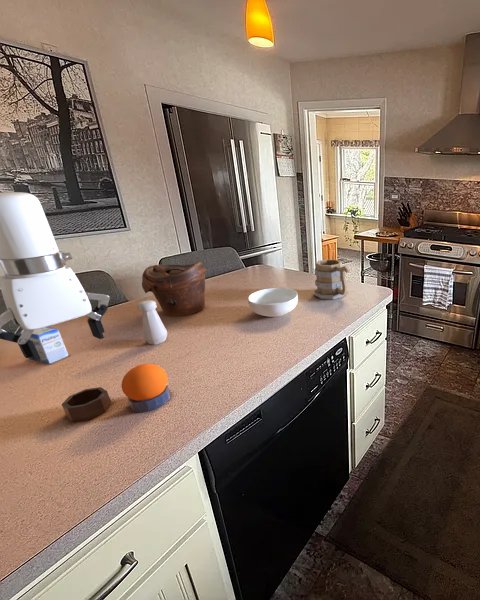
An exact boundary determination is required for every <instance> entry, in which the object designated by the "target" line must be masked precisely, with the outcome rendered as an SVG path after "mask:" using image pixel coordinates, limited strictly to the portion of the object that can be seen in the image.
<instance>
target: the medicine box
mask: <svg viewBox="0 0 480 600" xmlns="http://www.w3.org/2000/svg"><path fill="white" fill-rule="evenodd" d="M29 340H31V341H32V342H33V343H34V345H35V347H36V349H37V351H38V354H39V356H40V358H41V359H40V361H38V362H40V363H45V364H53V363H56V362H58V361H60V360H63V359H65V358H67V357H68V356H69V353H68V350H67V347H66V346H65V343H64V339H63V338H62V335H61V333H60V330H59V328H56V327H51V326H48V327H44V328H41V329H37V330H34V331H33V333H32V335H31V336H30V338H29ZM27 359H28V360H30V361H33V360H32V359H31V358H27Z"/></svg>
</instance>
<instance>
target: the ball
mask: <svg viewBox="0 0 480 600" xmlns="http://www.w3.org/2000/svg"><path fill="white" fill-rule="evenodd" d="M168 378H169V377H168V374H167V372H166V371H165V369H164V368H163V367H161V366H160V365H157V364H153V363H141V364H139V365H136V366H133V367H132V368H130V369H129V370H128V371H127V372H126V373H125V375H124V376H123V378H122V379H121V390H122V392H123V394H124V395H125V396H126V397H127V399H128V398H130V399H132V400H135V401H144V400H148V399H152V398H154V397H156V396H158V395H160V394H161V393H162V392H163V391H164V389H165V388H166V385H168V380H169V379H168Z"/></svg>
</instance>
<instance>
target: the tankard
mask: <svg viewBox="0 0 480 600" xmlns="http://www.w3.org/2000/svg"><path fill="white" fill-rule="evenodd" d="M313 272H314V276H316V279H315V280H314V285H315V287H316V289H315V290H314V291H313V294H314V296H315V297H317V298H319V299H320V300H336V299H340V298H344V297H345V296H346V295H347V293H348V283H347V282H348V281H347V278H346V274H350V272H351V271H350V268H349V267H348V265H343V262H342V261H341V260H338V259H321V260H317V261H316V263H315V268H314V270H313Z"/></svg>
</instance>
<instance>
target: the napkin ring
mask: <svg viewBox="0 0 480 600" xmlns="http://www.w3.org/2000/svg"><path fill="white" fill-rule="evenodd" d="M111 405H112V400H111V398H110V396H109V393H108V391H107V390H106V389H104V388H103V387H102V386H99V387H92V388H85V389H82V390H80V391H78V392H76V393H73V394H70V395H69V396H68V397H66V399H65V400H64V401H63V402H62V403H61V407H62V409H63V412H64V413H65V416H66V417H67V418H68V420H70V421H71V422H72V423H76V422H83V421H90V420H91V419H94V418H96V417H97V416H100V415H102V414H103V413H106V412H107V411H108V409H109V408H110V406H111Z"/></svg>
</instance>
